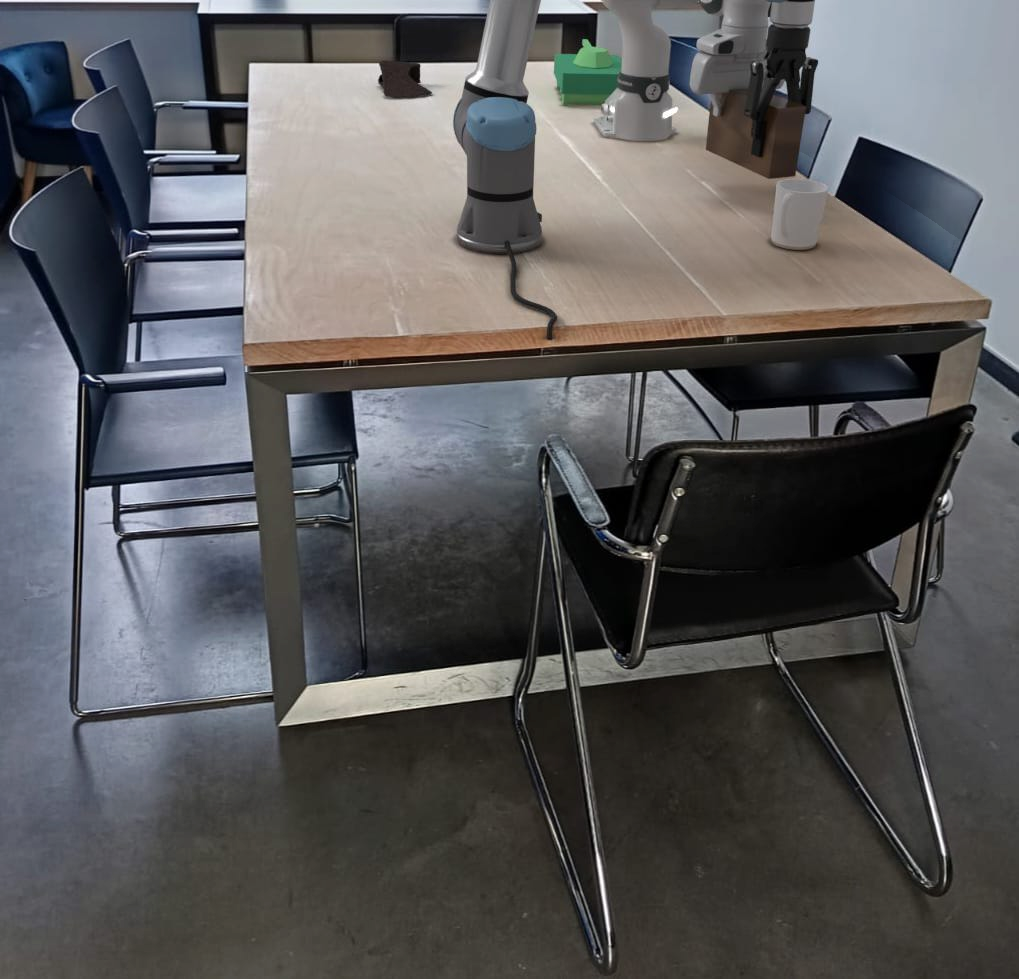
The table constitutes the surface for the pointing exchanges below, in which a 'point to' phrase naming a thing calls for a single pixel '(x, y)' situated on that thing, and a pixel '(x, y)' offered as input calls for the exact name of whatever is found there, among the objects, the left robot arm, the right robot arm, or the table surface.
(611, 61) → the toy tank
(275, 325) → the table surface
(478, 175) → the left robot arm
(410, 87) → the axe head
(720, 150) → the box
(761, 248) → the table surface
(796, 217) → the mug
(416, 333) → the table surface
